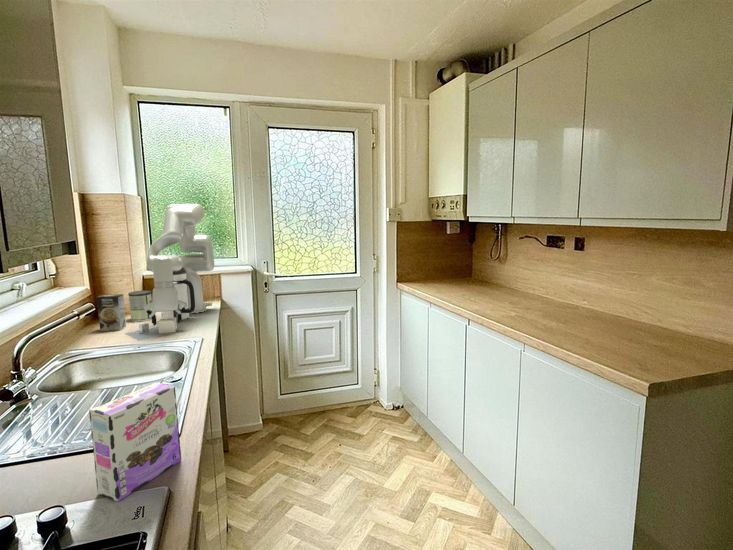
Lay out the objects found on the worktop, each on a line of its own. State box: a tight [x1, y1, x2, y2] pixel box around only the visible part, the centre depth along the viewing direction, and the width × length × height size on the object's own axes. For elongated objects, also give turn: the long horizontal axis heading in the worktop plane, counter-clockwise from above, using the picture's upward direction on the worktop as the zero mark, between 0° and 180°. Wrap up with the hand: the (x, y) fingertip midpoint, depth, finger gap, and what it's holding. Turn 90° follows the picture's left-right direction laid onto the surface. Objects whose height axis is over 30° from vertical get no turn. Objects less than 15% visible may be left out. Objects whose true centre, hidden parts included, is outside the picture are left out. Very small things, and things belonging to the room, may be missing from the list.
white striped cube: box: [157, 317, 178, 333], centre depth 177 cm, size 6×6×5 cm
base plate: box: [125, 326, 186, 341], centre depth 176 cm, size 19×16×2 cm
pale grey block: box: [138, 322, 150, 334], centre depth 175 cm, size 3×2×4 cm, turn 153°
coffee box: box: [96, 293, 127, 332], centre depth 187 cm, size 9×6×16 cm
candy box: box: [88, 381, 182, 502], centre depth 77 cm, size 14×6×16 cm, turn 155°
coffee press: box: [160, 267, 195, 321], centre depth 198 cm, size 17×16×30 cm
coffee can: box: [128, 290, 153, 322], centre depth 205 cm, size 10×10×14 cm
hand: (167, 323), depth 177 cm, fingers open, 9 cm apart
